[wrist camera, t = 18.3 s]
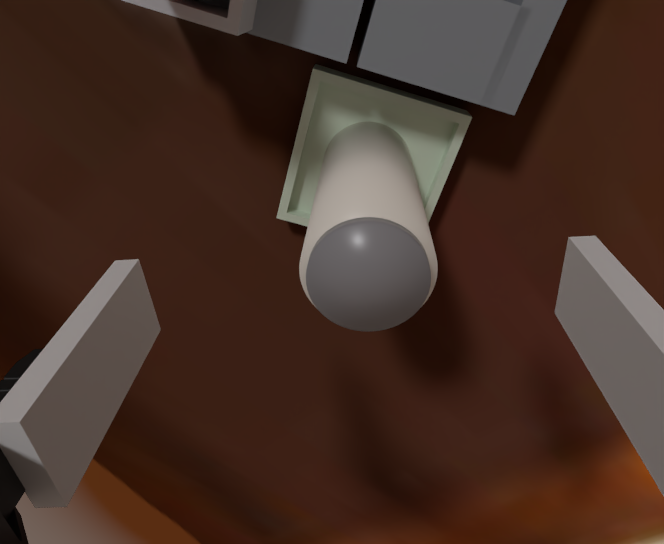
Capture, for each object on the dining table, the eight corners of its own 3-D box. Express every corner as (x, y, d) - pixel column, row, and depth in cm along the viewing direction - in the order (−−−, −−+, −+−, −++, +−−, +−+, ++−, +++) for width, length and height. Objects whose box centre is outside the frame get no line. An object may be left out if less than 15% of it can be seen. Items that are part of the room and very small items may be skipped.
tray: (280, 207, 31) (276, 218, 30) (315, 63, 27) (312, 68, 25) (412, 244, 32) (414, 256, 30) (466, 110, 28) (472, 117, 26)
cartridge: (319, 124, 28) (289, 219, 17) (411, 118, 27) (442, 212, 16) (326, 208, 30) (305, 339, 19) (411, 204, 30) (437, 336, 19)
